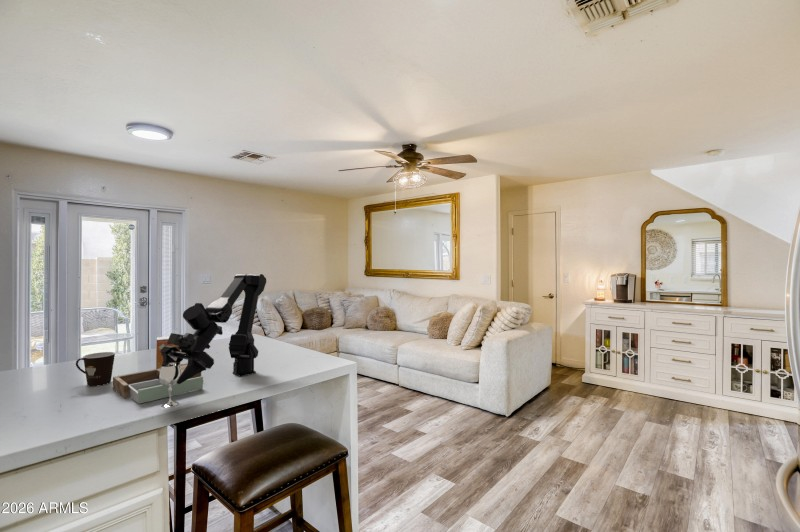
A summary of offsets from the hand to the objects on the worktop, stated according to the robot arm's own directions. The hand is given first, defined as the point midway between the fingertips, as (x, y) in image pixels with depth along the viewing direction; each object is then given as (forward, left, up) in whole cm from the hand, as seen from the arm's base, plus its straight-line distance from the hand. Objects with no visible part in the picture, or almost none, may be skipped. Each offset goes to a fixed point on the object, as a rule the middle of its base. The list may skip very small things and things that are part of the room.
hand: (167, 381), depth 110 cm
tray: (-4, -14, -7) cm, 16 cm away
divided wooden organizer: (-4, -23, -7) cm, 24 cm away
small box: (-13, -40, -7) cm, 43 cm away
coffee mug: (+9, -41, -7) cm, 43 cm away
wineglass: (-1, 0, -7) cm, 7 cm away
